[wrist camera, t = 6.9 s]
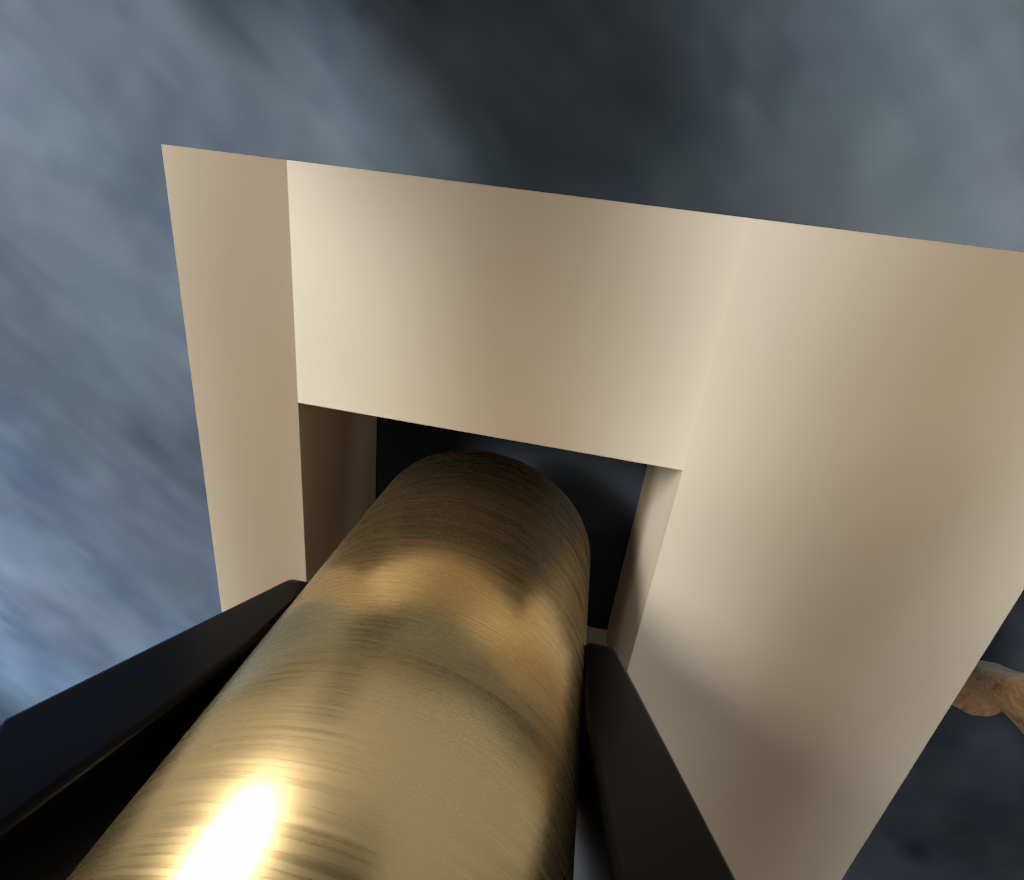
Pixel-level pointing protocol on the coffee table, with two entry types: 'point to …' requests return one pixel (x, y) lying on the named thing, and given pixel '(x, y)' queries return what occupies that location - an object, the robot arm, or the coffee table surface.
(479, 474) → the brass cylinder plug
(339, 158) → the coffee table surface
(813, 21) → the coffee table surface
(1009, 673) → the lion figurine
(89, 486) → the coffee table surface
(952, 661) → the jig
